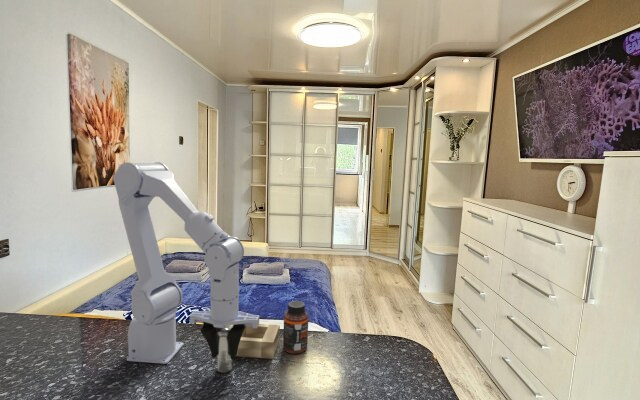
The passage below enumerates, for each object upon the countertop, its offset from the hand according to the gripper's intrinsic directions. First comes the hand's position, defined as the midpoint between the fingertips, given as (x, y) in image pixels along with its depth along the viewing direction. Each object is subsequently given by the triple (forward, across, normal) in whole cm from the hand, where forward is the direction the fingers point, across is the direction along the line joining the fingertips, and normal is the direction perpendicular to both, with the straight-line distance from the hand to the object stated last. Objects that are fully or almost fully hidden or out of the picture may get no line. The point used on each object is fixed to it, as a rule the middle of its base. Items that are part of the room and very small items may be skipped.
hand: (224, 355), depth 72 cm
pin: (+3, 0, 0) cm, 3 cm away
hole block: (+3, +4, +9) cm, 10 cm away
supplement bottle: (+3, +14, +10) cm, 18 cm away
